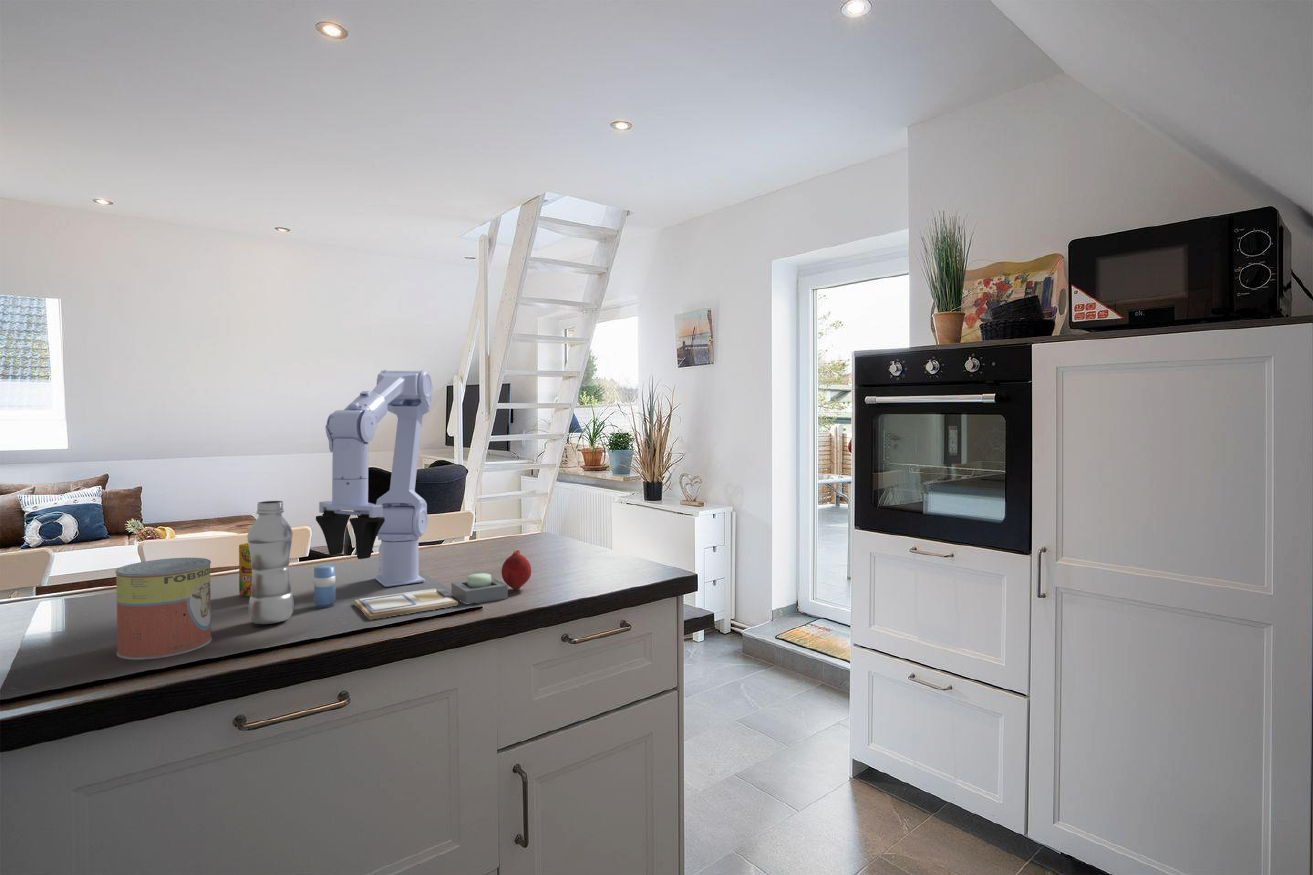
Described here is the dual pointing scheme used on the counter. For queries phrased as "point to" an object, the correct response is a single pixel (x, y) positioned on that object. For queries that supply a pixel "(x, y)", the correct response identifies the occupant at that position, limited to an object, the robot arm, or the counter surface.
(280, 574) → the plastic bottle
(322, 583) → the blue capped bottle
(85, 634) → the counter surface
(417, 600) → the beige tray
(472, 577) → the button
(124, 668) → the counter surface
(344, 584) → the counter surface
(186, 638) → the canned food
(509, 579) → the onion
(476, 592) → the button pad
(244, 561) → the crayon box
